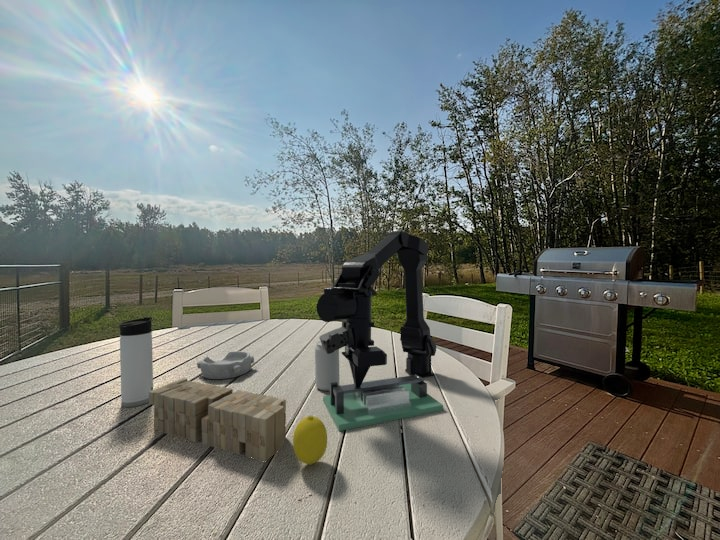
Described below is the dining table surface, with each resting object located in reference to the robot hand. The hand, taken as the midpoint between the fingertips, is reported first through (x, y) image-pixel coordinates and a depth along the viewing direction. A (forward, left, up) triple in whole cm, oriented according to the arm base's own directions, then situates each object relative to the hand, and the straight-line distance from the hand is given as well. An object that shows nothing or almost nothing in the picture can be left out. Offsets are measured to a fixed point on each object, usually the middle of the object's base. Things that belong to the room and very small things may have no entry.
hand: (357, 386), depth 68 cm
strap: (-5, 0, -1) cm, 6 cm away
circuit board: (-6, 0, -5) cm, 8 cm away
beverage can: (+3, -15, -6) cm, 16 cm away
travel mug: (+48, -23, -6) cm, 54 cm away
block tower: (+28, -1, -6) cm, 29 cm away
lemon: (+13, +15, -6) cm, 21 cm away
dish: (+29, -37, -6) cm, 48 cm away
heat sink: (-6, 0, -4) cm, 7 cm away
